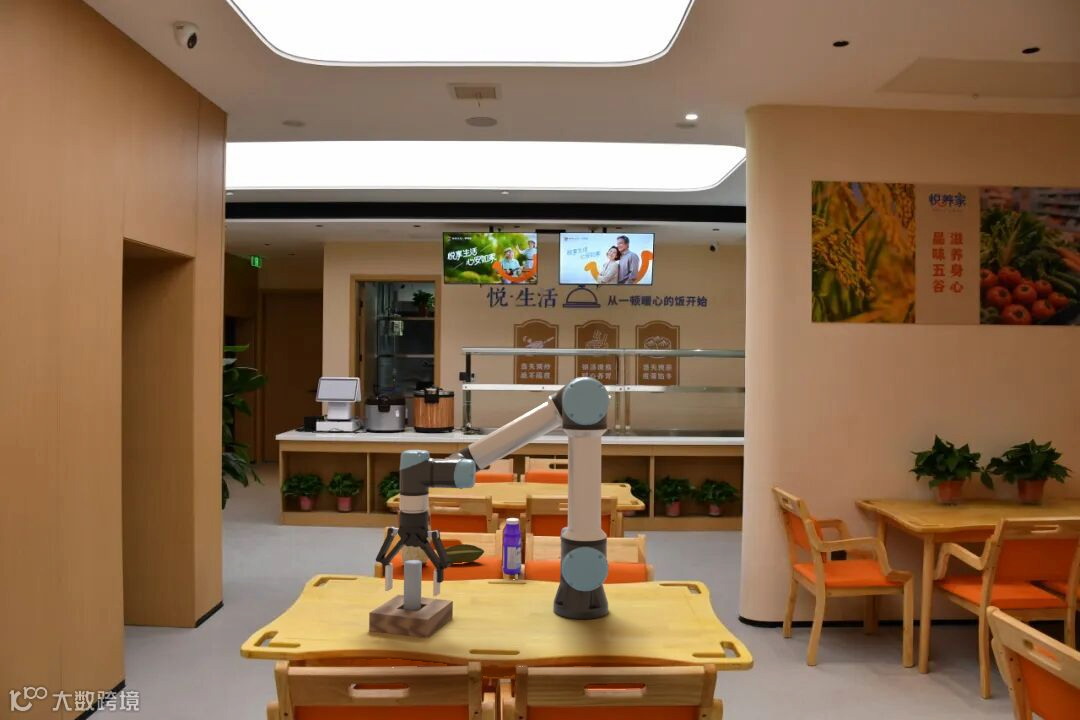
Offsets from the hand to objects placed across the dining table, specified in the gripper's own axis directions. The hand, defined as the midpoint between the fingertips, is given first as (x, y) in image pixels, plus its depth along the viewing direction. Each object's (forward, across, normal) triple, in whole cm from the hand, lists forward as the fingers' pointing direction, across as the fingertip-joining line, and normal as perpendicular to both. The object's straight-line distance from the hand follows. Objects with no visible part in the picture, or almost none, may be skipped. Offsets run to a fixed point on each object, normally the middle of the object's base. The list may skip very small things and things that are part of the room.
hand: (412, 592), depth 202 cm
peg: (+8, 0, 0) cm, 8 cm away
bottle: (+8, -9, -55) cm, 56 cm away
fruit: (+8, +11, -60) cm, 62 cm away
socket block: (+8, 0, 0) cm, 8 cm away
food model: (+8, +24, -53) cm, 59 cm away
